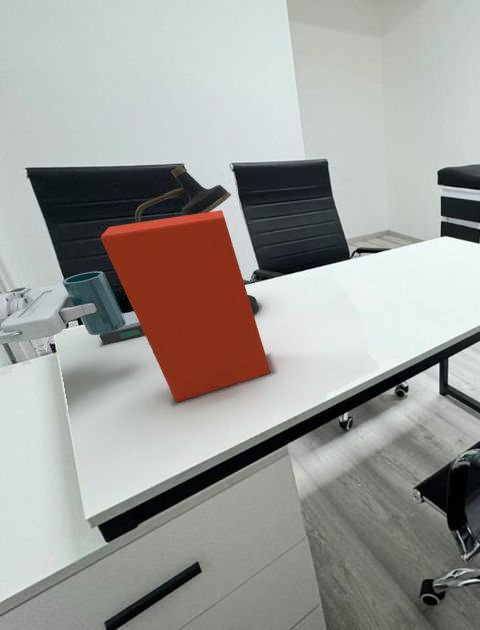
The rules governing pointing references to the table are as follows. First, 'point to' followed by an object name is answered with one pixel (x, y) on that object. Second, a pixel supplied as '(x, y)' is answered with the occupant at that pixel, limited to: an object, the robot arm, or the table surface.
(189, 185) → the lamp
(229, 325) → the file binder
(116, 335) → the scale
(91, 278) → the cup
